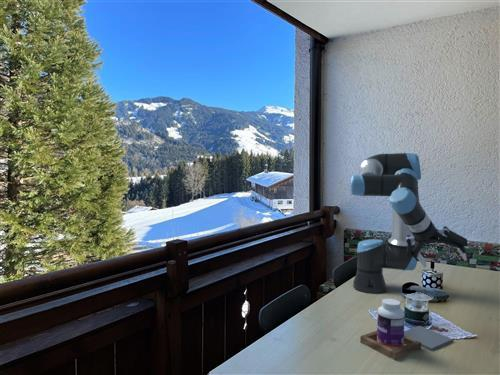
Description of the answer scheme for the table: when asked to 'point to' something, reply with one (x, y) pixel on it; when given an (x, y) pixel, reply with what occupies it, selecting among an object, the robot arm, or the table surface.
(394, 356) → the walnut frame
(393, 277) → the table surface
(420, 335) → the slate coaster
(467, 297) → the table surface
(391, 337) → the pill bottle
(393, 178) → the robot arm
